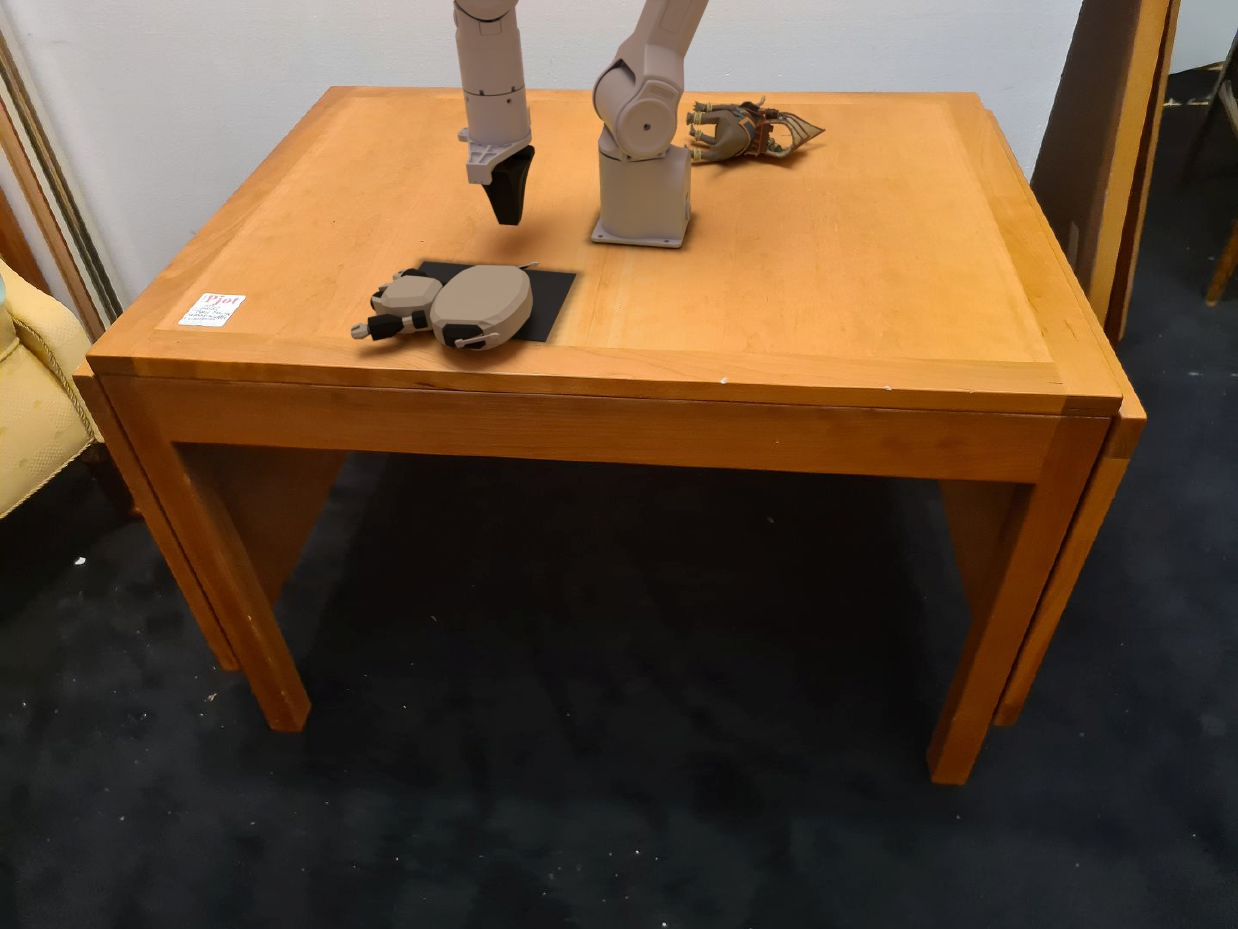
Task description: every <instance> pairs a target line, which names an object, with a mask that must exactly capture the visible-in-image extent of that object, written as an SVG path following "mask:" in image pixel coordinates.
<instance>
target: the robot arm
mask: <svg viewBox="0 0 1238 929" xmlns="http://www.w3.org/2000/svg"><path fill="white" fill-rule="evenodd" d="M709 2H710V0H645V2H644V5H643V8H642V10H641V12H640V16H639V18H638V21H637V22H636V26H635V28H634V30H633V32H632V33H631V34H630V35H629V36H628V37H627V38H626V39H624V41H623V42H622V43H621V44H620V45H619V46H618V48H617V51H616V52H615V56H614V57H613V59H612V60H611V63H610V64H609V65H608V66H607V67H606V68H605V69H604V70H602V72H600V74H599V76H597V78H596V81H595V82H594V85H593V87H592V93H591V100H592V101H591V102H592V106H593V109H594V112H595V114H596V115H597V116H598V118H599V119H600V120H601V121H602V122H603V126H602V130H601V133H600V135H599V137H598V140H597V147H598V148H597V150H598V151H597V152H598V175H599V176H598V179H599V202H600V216H599V219H598V220H597V223H596V225H595V227H594V229H593V231H592V233H591V236H590V240H591V241H592V242H597V243H610V244H620V245H621V244H623V245H636V246H647V247H648V246H650V247H662V248H675V249H677V248H681V247H682V244H683V242H684V237H685V235H686V234H685V233H686V230H687V228H688V224H689V221H690V218H691V213H692V204H691V189H692V188H691V187H692V158H691V151H692V149H691V148H689V147H688V148H689V149H688V148H684V146H683V147H681V146H679V145H675V144H673V143H672V142H673V140H674V138H675V135H676V133H677V130H678V124H679V123H678V120H679V119H678V111H679V110H678V109H679V105H680V102H681V99H682V97H683V94H684V93H685V59H686V58H685V57H686V56H687V53H688V51H689V48H690V46H691V44H692V41H693V39H694V37H695V34H696V32H697V29H698V27H699V25H700V23H701V21H702V18H703V16H704V14H705V11H706V9H707V6H708V4H709ZM518 3H519V0H453V1H452V4H453V12H452V13H453V14H452V15H453V17H452V18H453V22H454V25H455V27H456V30H455V33H454V34H455V36H454V37H455V43H456V44H455V45H456V51H457V52H456V53H457V56H458V57H457V58H458V65H459V73H460V81H461V86H462V92H463V100H464V106H465V111H466V112H465V114H466V119H467V126H465V127H462V128H461V129H460V130H459V132H458V133H457V140H458V142H461V143H467V147H468V159H467V161H466V162H465V167H466V168H465V169H466V175H467V182H468V184H469V185H481V188H483V190H484V192H485V195H486V196H487V199H488V201H489V203H490V205H491V208H492V211H493V214H494V216H495V219H496V221H497V222H498V225H500V226H513V227H518V226H519V225H520V223H521V222H522V217H523V213H524V212H523V211H524V205H525V204H524V203H525V193H526V186H527V180H528V176H529V172H530V168H531V164H532V162H533V159H534V157H535V154H536V148H535V146H534V145H531V143H532V141H533V134H532V128H531V125H532V119H531V108H530V106H529V105H528V103H527V92H526V82H525V73H524V62H523V61H524V60H523V52H522V50H523V49H522V41H521V32H520V29H519V27H518V21H517V10H516V9H517V8H516V7H517V5H518Z"/></svg>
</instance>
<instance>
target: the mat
mask: <svg viewBox="0 0 1238 929" xmlns="http://www.w3.org/2000/svg"><path fill="white" fill-rule="evenodd" d="M476 265H477V264H467V263H466V264H465V263H464V264H463V263H451V262H440V261H428V260H423V262H422V263H421V264H420V265H419V267H418V268H417V270H420V271H423V272H425V273H426V274H427V276H428V277H429V278H433V279H436V280H438V281H439V280H441V281H444V282H447V283H448V282H449V281H450V280H451V279H452V278H454V277H455V276H456V275H458V274H459V273H460V272H462V271H463V270H466V269H469V268H471V267H474V266H476ZM522 271H524V272H525V273H526V274H527V275H528V277H529V280H530V285H531V291H532V296H533V305H532V309H531V313H530V316H529V318H528V319H527V320H526V321H525V323H524V324H523V325H522V326H521V328H520V329H519V330H518V331H517V332H516V333H515V334H514V335H513V336H512V337H510V338H509V339H512V340H513V339H514V340H520V341H521V340H522V341H533V342H544V343H545V342H547V339H548V336H549V335H550V332H551V330H552V328H553V326H554V324H555V321H556V319H557V317H558V315H559V313H560V310H561V308H562V306H563V304H564V302H565V299H566V298H567V295H568V293H569V291H570V288H571V286H572V284H573V282H574V280H575V278H576V275H577V273H575V272H564V271H563V272H562V271H552V270H551V271H549V270H538V269H528V268H526V269H522ZM426 331H429V332H434V329H432V330H426Z"/></svg>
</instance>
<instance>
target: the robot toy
mask: <svg viewBox="0 0 1238 929" xmlns="http://www.w3.org/2000/svg"><path fill="white" fill-rule="evenodd" d="M540 264H541V263H540V262H539V261H533V262H530V263H527V264H524V265H519V266H515V265H501V264H500V265H497V264H496V265H495V264H494V265H493V264H475V265H476V266H474V267H471V268H469V269H466V270H463V271H462V272H460V273H459V274H458V275H456V276H455V277H454V278H452V279H451V280H450V281H449V282H448V283H447V282H444V281H441V280H439V281H438V280H436V279H433V278H429V277H428V276H427V274H426V273H425V272H423V271H420V270H418V268H417V269H416V268H414V267H411V268H407V269H400V270H399V271H398V272H396V273H394V274H392V282H386V283H384V284H382V285H381V286H379V287H377V288H378V291H376V292H374V293H373V294H372V295H371V296H370V299H369V304H370V307H371V309H372V310H373V311H374V312H375V314H376V315H372V316H368V317H367V323H362V322H359V323H356V324H354V325H352V327H350V336H351V338H352V339H353V340H364V339H366V338H367V337H369V336H370V337H371V340H372V341H373V342H376V341H381V340H386V339H391V338H394V337H395V336H396V335H398V334H402V335H404V334H415V333H416V332H425V331H427V330H432V329H434V331H433V333H434V336H435V338H436V340H437V342H438V343H440V344H442V345H443V346H445V347H447V348H449V349H458V350H459V349H462V350H471V351H475V352H477V351H487V350H491V349H494V348H495V347H498V346H500V345H502V344H505V343H506V342H507V341H508V340H510V339H511V338H510V337H512V336H513V335H514V334H515V333H516V332H517V331H518V330H519V329H520V328H521V326H522V325H523V324H524V323H525V321H526V320H527V319H528V318H529V316H530V313H531V309H532V305H533V296H532V291H531V285H530V280H529V277H528V275H527V274H526V273H525V272H524V271H522V269H534V268H537V267H538V266H539V265H540Z"/></svg>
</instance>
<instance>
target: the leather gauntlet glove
mask: <svg viewBox="0 0 1238 929" xmlns="http://www.w3.org/2000/svg"><path fill="white" fill-rule="evenodd" d="M765 102H766V95H762V96H761V98H760V100H759V102H757V103H754V102H752V101H750V100H745V101H743V102H742V103H740V104H735V103H730V104H725V103H721V104H713V103H711V101H709V102H706V103H702V102H699V101H696V100H694V103H695V104H693V105H692V107H693V108H692V111H694V112H693V113H692V112H690V111H687V112H686V118H685V122H686V123H685V124H686V126H689V125H690V130H689V132H688V136H691V137H692V138H693V139H694V140H695V142H703V143H704V144H706V145H709V146H708V148H709V150H706V151H705V150H701V149H700V148H698V147H696V148H693V149H692V150H691V159H692V162H695V163H697V162H699V161H701V160H703V161H705V160H706V161H713V162H721V161H722V162H723V161H725V160H728V159H729V158H731V157H734V158H736V157H738V156H740V155H741V154H743V153H744V152H745V151H746V150H747V151H746V152H745V153H744V156H746V155H754V157H757V156H758V155H761V154H764V155H766V156H771V157H773V158H778V159H784V158H786V157H787V156H789V155H790V154H791V153H793V152H795V151H796V150H798V149H799V148H800V147H802V146H803V145H804V144H806V143H808V142H809V141H811V140H813V139H815V138H816V137H819V135H821V134H823V133H825V132H826V128H822V127H819V126H817V125H814V124H812V123H810V122H808V121H807V120H804V119H803V118H802V117H800V116H798V115H796V114H794V113H792V112H789V111H779V109H776V108H774V107H773V108H770V107H768V108H766V107H761V106H764V104H765ZM704 125H715V127H714V136H712V135H707V134H705V133H704V132H703V131H702V129H695V127H694V126H704ZM774 125H783V126H785V127H786V128H787V129H788V131H789V133H790V134H781V135H780V137H791V140H792V142H791V145H790V146H787V147H786V146H784V148H783V147H782V145H781V144H779V143H777V142H776V139H775V138H774V137H771V135H770V133H774V129H775V128H774ZM750 147H752V148H750ZM683 148H688V149H690V148H689V146H687V143H684V144H683ZM749 148H750V149H749ZM748 149H749V150H748Z"/></svg>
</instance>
